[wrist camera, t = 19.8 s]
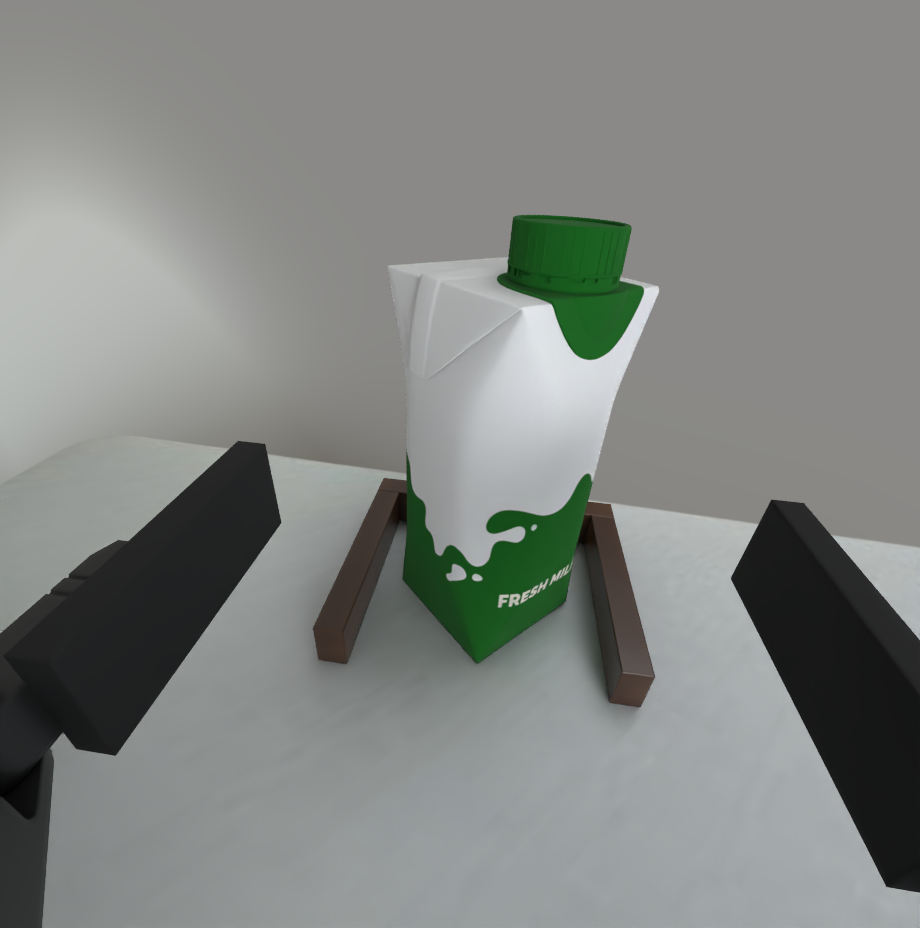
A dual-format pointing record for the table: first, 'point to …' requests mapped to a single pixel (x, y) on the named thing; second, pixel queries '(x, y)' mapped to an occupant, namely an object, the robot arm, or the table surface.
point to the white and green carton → (510, 416)
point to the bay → (608, 580)
